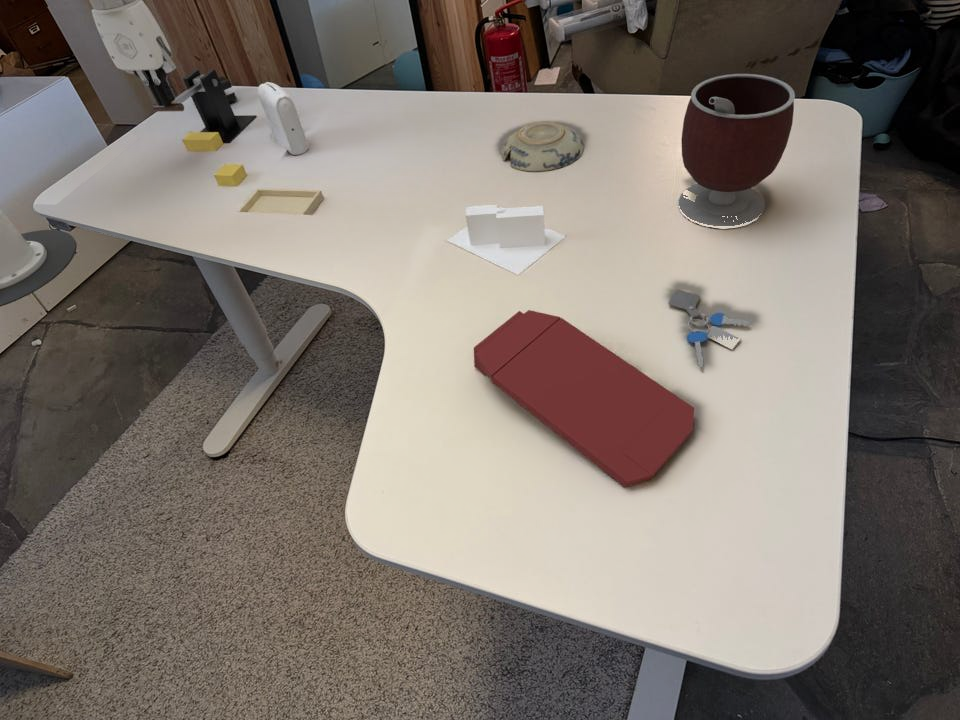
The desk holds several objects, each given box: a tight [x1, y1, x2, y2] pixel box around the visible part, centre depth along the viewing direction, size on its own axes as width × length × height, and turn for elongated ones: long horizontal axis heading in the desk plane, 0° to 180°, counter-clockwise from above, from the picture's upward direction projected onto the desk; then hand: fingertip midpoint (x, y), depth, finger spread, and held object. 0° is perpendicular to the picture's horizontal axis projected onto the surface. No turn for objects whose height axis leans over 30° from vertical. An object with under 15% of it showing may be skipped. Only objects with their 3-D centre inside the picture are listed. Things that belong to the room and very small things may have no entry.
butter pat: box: [213, 163, 248, 187], centre depth 114 cm, size 4×4×3 cm
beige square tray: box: [236, 188, 324, 216], centre depth 105 cm, size 13×13×2 cm
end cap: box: [218, 76, 238, 103], centre depth 140 cm, size 10×7×7 cm
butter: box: [181, 131, 224, 152], centre depth 126 cm, size 3×7×4 cm, turn 76°
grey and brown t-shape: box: [152, 74, 205, 113], centre depth 120 cm, size 14×6×2 cm, turn 166°
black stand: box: [182, 69, 258, 144], centre depth 127 cm, size 12×10×13 cm
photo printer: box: [257, 81, 309, 156], centre depth 119 cm, size 10×4×12 cm, turn 37°
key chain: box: [667, 289, 751, 369], centre depth 75 cm, size 14×8×1 cm, turn 5°
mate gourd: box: [678, 73, 796, 226], centre depth 84 cm, size 16×14×20 cm
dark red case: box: [473, 309, 695, 488], centre depth 69 cm, size 12×5×25 cm
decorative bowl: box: [500, 120, 585, 173], centre depth 109 cm, size 15×4×15 cm
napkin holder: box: [446, 204, 567, 276], centre depth 91 cm, size 15×11×6 cm
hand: (167, 102), depth 115 cm, fingers closed
